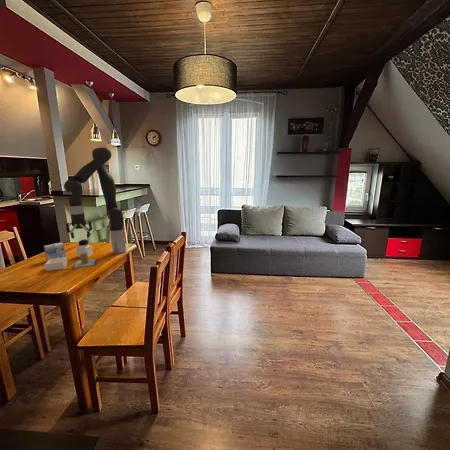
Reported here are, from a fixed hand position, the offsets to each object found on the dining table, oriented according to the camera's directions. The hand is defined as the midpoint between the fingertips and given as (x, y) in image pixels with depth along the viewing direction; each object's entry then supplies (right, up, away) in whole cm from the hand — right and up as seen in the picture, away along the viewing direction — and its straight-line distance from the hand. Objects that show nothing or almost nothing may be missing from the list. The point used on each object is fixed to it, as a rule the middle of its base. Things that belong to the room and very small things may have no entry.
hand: (81, 237), depth 162 cm
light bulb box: (-25, -16, +15) cm, 34 cm away
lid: (+1, -17, +4) cm, 18 cm away
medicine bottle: (-9, -14, +20) cm, 26 cm away
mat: (+1, -18, +4) cm, 18 cm away
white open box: (-14, -19, -1) cm, 24 cm away
